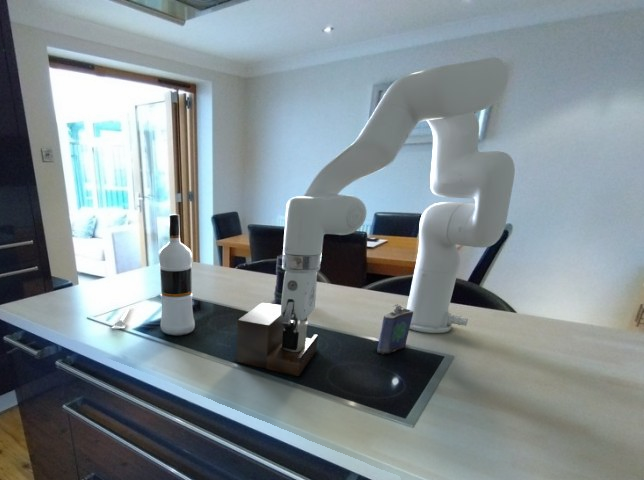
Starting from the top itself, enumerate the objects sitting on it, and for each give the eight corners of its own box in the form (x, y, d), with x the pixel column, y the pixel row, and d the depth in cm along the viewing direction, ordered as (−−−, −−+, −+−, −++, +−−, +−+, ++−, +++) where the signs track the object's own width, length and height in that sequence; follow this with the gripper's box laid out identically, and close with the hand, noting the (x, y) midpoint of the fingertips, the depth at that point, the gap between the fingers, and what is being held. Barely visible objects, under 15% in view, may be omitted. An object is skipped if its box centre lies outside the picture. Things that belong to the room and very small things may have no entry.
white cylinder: (307, 345, 87) (310, 320, 84) (301, 353, 83) (303, 327, 80) (285, 341, 89) (287, 316, 87) (278, 349, 85) (280, 323, 83)
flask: (384, 355, 89) (392, 310, 84) (372, 350, 91) (380, 307, 87) (408, 346, 93) (417, 303, 89) (397, 342, 95) (405, 300, 91)
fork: (135, 309, 122) (134, 303, 121) (121, 333, 103) (120, 326, 103) (124, 309, 122) (124, 303, 121) (109, 333, 103) (108, 326, 103)
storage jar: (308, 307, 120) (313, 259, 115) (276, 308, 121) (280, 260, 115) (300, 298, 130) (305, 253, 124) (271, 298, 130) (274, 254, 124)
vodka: (154, 333, 103) (147, 215, 91) (171, 322, 111) (167, 212, 99) (184, 339, 99) (181, 216, 88) (200, 327, 107) (199, 213, 95)
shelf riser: (316, 351, 91) (320, 311, 87) (298, 376, 80) (303, 331, 76) (259, 340, 98) (261, 302, 94) (236, 361, 87) (237, 319, 83)
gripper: (308, 272, 70) (299, 362, 77) (329, 256, 84) (320, 334, 91) (268, 267, 74) (263, 354, 81) (295, 253, 87) (289, 328, 94)
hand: (293, 343), depth 86 cm, fingers closed on white cylinder, 5 cm apart
